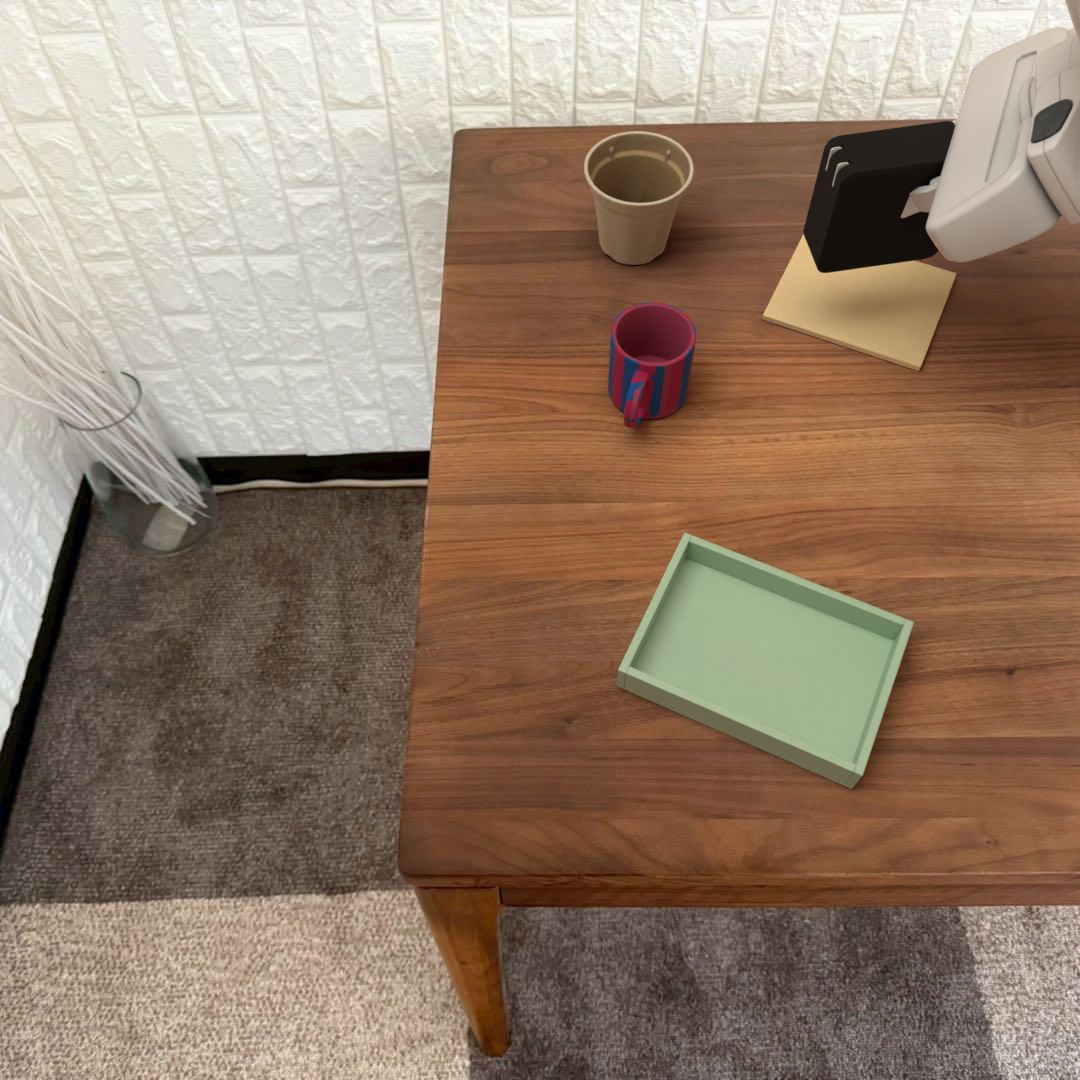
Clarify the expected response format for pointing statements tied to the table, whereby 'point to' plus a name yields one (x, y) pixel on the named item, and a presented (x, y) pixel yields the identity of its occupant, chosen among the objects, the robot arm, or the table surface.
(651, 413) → the mug
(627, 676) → the tray
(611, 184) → the flower pot
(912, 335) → the cork mat
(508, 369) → the table surface
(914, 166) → the electronic device
